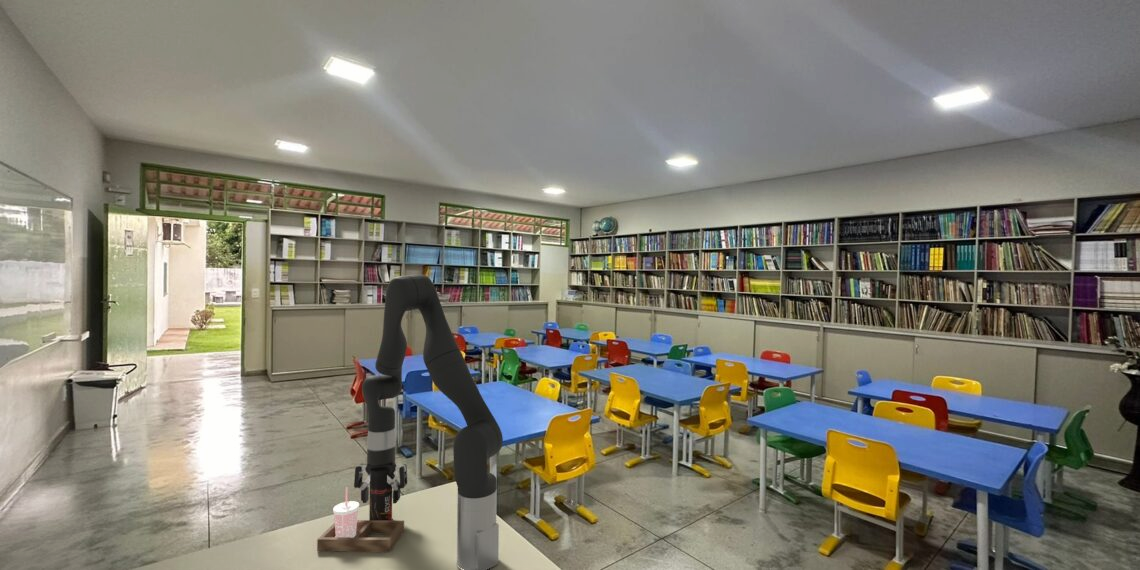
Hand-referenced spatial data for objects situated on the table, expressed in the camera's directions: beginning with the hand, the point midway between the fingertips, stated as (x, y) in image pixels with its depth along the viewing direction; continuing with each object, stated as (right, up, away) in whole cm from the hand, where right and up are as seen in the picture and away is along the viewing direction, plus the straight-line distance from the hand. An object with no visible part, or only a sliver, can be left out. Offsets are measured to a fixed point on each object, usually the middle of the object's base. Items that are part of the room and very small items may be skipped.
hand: (380, 502), depth 128 cm
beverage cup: (-5, -5, -11) cm, 13 cm away
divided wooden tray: (0, -5, -11) cm, 12 cm away
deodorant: (0, -5, 0) cm, 5 cm away
